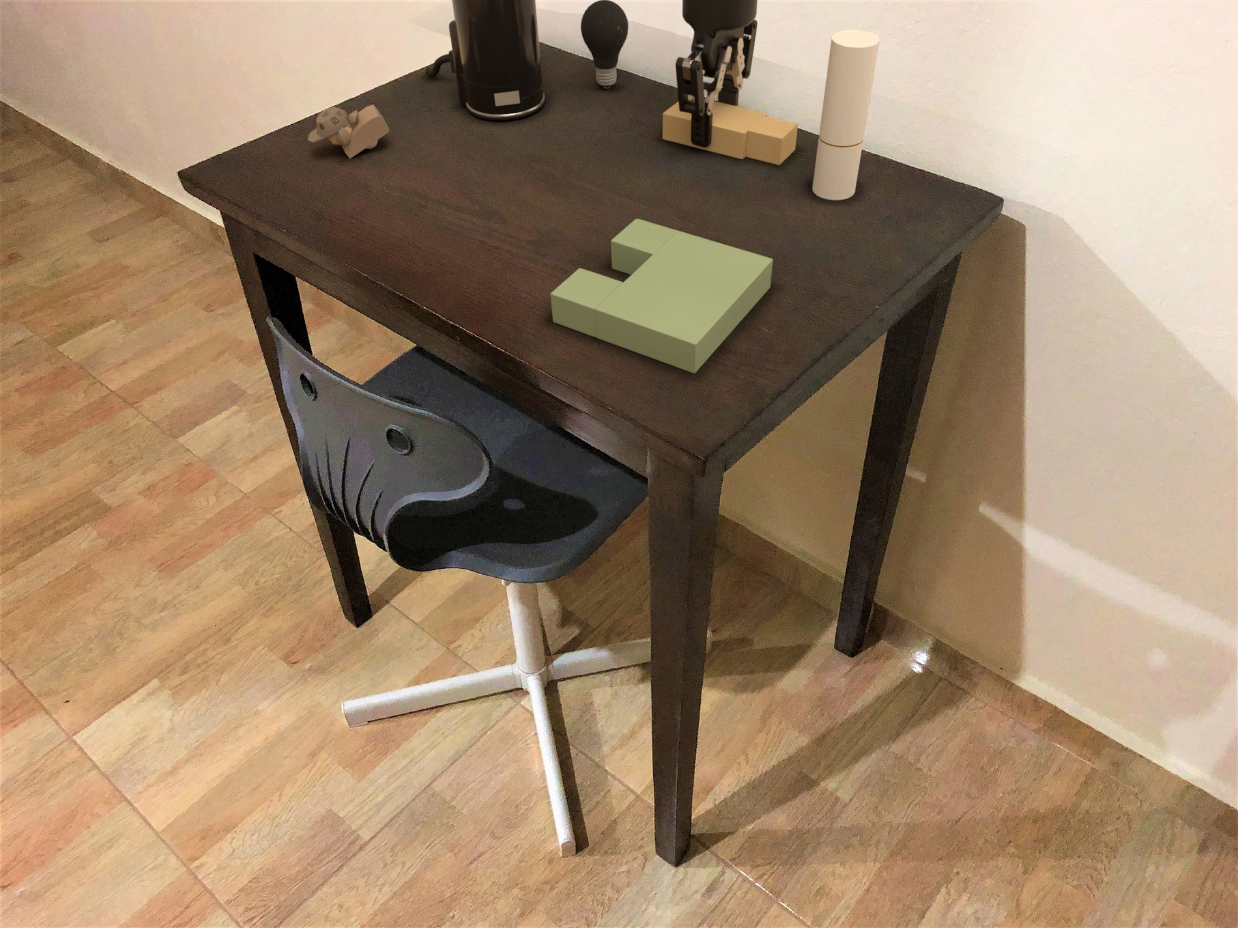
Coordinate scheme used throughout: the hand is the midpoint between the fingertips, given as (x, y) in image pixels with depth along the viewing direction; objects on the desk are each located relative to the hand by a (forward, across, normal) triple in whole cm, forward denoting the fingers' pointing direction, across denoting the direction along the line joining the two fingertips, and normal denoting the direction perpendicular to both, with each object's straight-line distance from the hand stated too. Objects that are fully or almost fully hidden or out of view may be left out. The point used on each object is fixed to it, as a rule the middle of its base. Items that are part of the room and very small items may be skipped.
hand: (714, 133), depth 103 cm
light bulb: (+1, -6, -18) cm, 19 cm away
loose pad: (+1, 0, +2) cm, 2 cm away
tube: (+1, +4, +16) cm, 17 cm away
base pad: (+1, +30, +11) cm, 32 cm away
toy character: (+1, +22, -34) cm, 41 cm away
